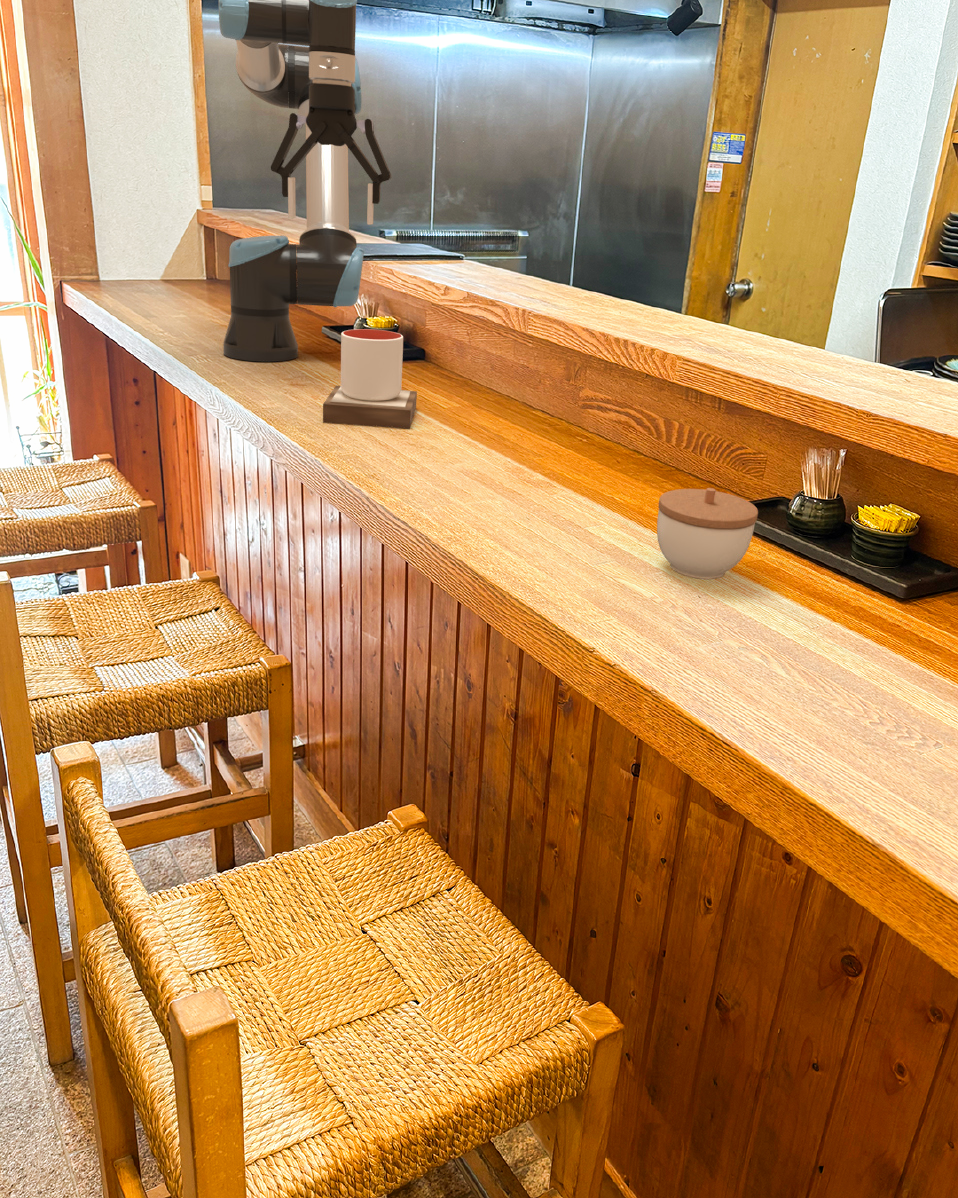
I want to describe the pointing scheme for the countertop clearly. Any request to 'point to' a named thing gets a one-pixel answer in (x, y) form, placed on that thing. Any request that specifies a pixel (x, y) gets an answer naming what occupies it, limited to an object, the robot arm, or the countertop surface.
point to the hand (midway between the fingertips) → (331, 221)
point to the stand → (370, 410)
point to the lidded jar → (704, 531)
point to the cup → (371, 364)
